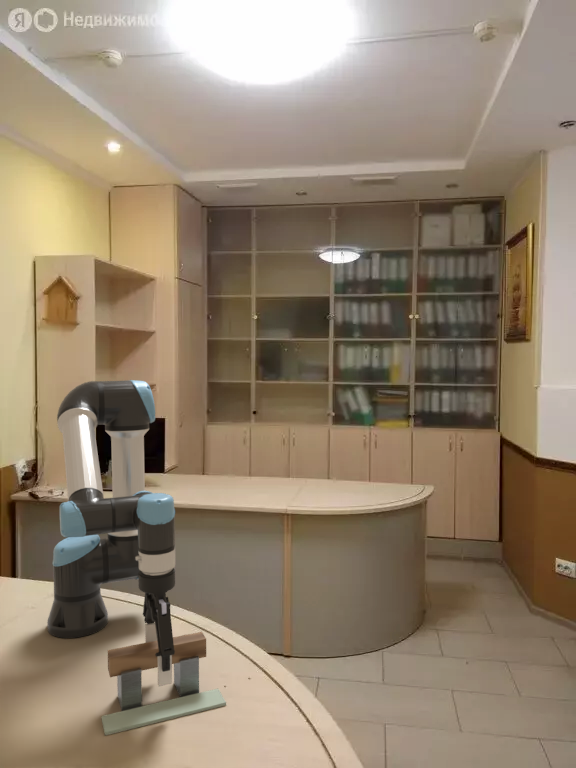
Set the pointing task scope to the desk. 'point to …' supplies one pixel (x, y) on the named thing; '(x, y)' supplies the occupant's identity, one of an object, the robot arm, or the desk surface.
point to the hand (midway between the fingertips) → (158, 667)
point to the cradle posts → (183, 680)
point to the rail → (146, 652)
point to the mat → (162, 711)
